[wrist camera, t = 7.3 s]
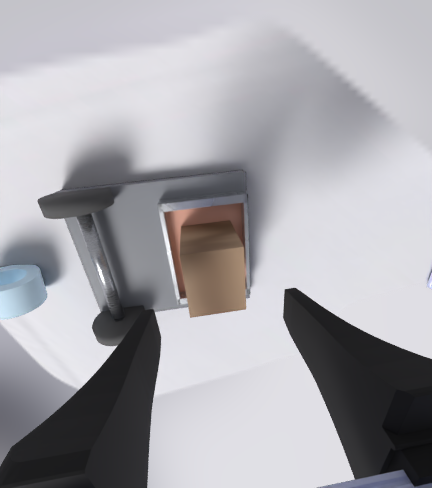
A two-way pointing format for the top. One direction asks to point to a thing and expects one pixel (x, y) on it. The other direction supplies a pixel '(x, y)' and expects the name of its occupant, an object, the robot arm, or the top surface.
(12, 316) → the mechanical part
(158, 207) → the chassis
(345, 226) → the top surface
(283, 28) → the top surface
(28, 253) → the top surface
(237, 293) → the block
